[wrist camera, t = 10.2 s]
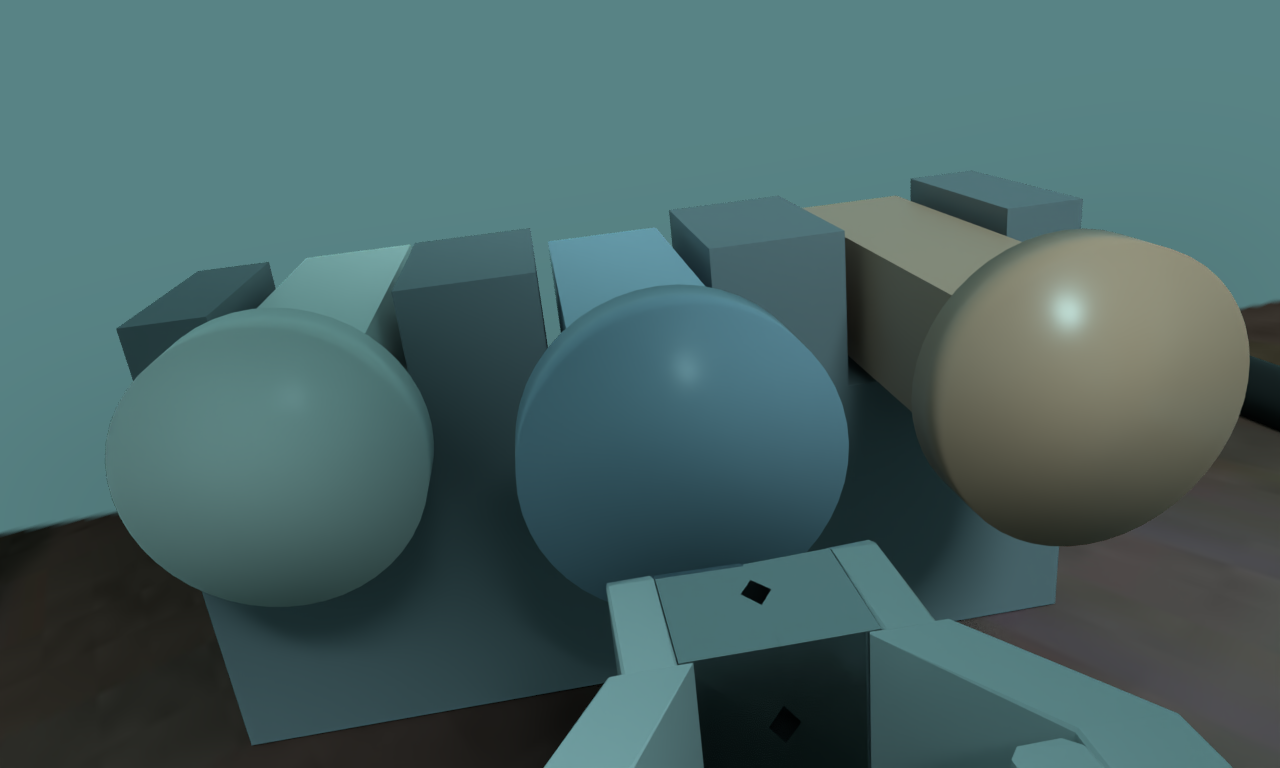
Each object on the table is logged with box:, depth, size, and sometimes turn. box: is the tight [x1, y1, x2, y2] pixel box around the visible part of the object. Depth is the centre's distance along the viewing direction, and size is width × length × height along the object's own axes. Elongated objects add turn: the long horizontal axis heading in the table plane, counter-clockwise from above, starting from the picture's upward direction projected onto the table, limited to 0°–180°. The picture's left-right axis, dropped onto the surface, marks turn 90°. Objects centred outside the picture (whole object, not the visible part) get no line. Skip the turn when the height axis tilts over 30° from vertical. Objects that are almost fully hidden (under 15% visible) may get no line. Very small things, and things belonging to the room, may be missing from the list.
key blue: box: [515, 228, 849, 602], centre depth 19 cm, size 5×11×5 cm, turn 8°
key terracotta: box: [802, 196, 1250, 546], centre depth 19 cm, size 5×11×5 cm, turn 8°
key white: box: [105, 245, 434, 607], centre depth 20 cm, size 5×11×5 cm, turn 8°
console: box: [117, 171, 1083, 745], centre depth 23 cm, size 20×5×10 cm, turn 98°
